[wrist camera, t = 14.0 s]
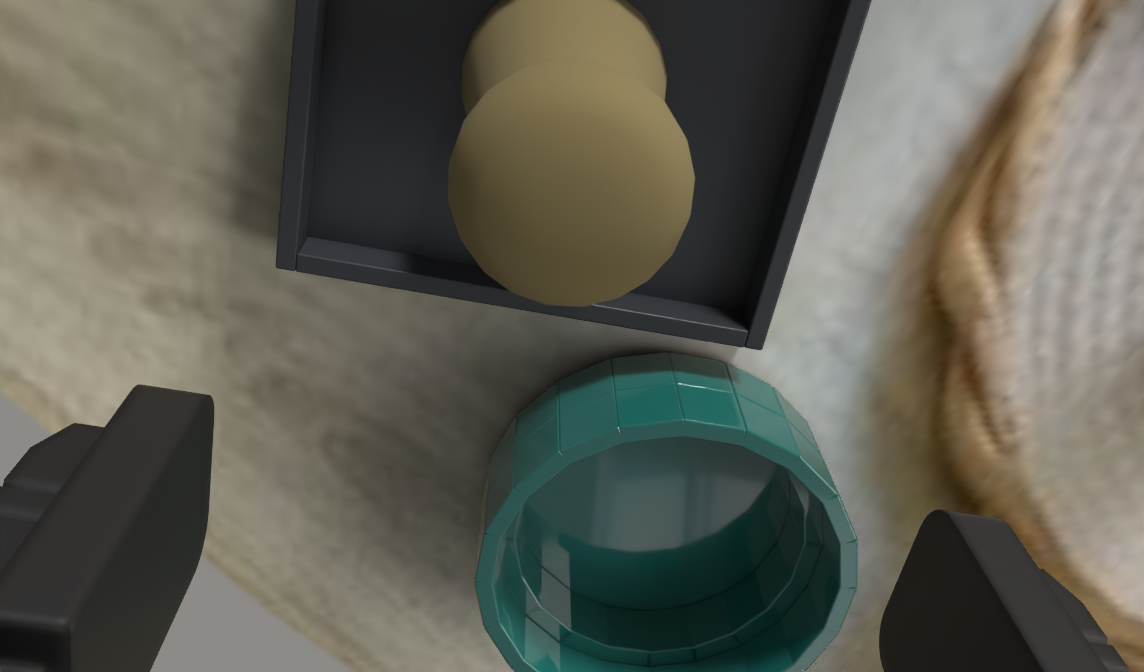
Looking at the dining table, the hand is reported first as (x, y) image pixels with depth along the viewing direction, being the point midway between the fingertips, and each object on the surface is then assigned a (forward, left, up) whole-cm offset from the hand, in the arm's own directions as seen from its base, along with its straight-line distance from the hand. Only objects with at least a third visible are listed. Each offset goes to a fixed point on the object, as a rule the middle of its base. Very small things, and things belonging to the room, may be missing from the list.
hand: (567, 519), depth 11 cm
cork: (0, 0, -21) cm, 21 cm away
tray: (0, 0, -21) cm, 21 cm away
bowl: (+6, -14, -21) cm, 26 cm away
